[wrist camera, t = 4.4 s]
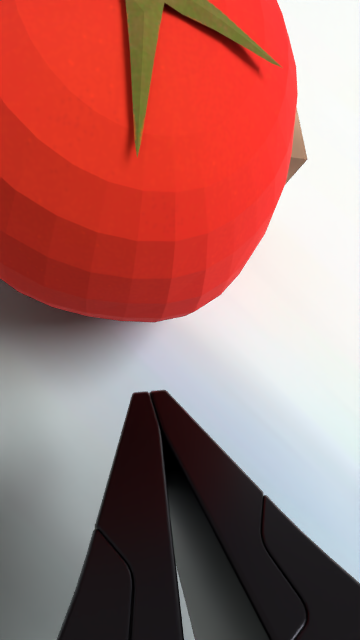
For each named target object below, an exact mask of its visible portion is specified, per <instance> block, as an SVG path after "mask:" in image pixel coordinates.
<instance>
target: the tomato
mask: <svg viewBox="0 0 360 640" xmlns="http://www.w3.org/2000/svg"><path fill="white" fill-rule="evenodd" d="M296 104H297V77H296V65H295V61H294V56H293V52H292V48H291V44H290V40H289V36H288V33H287V29H286V26H285V22H284V19H283V15H282V12H281V10H280V7H279V5H278V3H277V0H0V279H2V280H3V281H4V282H6V283H7V284H8V285H10V286H11V287H13V288H14V289H15V290H17V291H18V292H20V293H22V294H24V295H27V296H29V297H31V298H33V299H35V300H38V301H40V302H42V303H44V304H46V305H49V306H51V307H54V308H58V309H61V310H65V311H69V312H73V313H77V314H81V315H85V316H90V317H97V318H104V319H111V320H118V321H135V322H158V321H163V320H167V319H172V318H177V317H182V316H186V315H188V314H190V313H192V312H194V311H196V310H198V309H199V308H201V307H202V306H204V305H205V304H207V303H208V302H210V301H212V300H213V299H215V298H216V297H218V296H219V295H221V294H222V292H223V291H224V290H225V289H226V288H227V287H228V286H229V285H230V284H231V282H232V281H233V280H234V279H235V278H236V277H237V276H238V275H239V273H240V272H241V270H242V269H243V267H244V266H245V264H246V262H247V261H248V259H249V258H250V256H251V255H252V253H253V251H254V250H255V248H256V247H257V245H258V244H259V242H260V240H261V239H262V237H263V236H264V234H265V232H266V230H267V227H268V225H269V222H270V220H271V217H272V215H273V212H274V210H275V208H276V205H277V203H278V200H279V198H280V195H281V193H282V190H283V188H284V185H285V183H286V179H287V174H288V169H289V164H290V159H291V154H292V144H293V134H294V124H295V114H296Z"/></svg>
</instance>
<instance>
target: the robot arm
mask: <svg viewBox="0 0 360 640" xmlns="http://www.w3.org/2000/svg"><path fill="white" fill-rule="evenodd" d="M176 566H177V570H178V574H179V578H180V582H181V586H182V590H183V594H184V597H185V601H186V605H187V609H188V613H189V617H190V621H191V625H192V629H193V633H194V637H195V640H360V583H359V582H358V581H357V580H355V579H354V578H353V577H352V576H351V575H350V574H349V573H347V572H346V571H345V570H344V569H343V568H342V567H341V566H340V565H338V564H337V563H336V562H335V561H334V560H333V559H332V558H330V557H329V556H328V555H327V554H326V553H325V552H324V551H323V550H322V549H321V548H319V547H318V546H317V545H316V544H315V543H314V542H313V541H312V540H311V539H310V538H309V537H307V536H306V535H305V534H304V533H303V532H302V531H301V530H300V529H299V528H298V527H297V526H296V525H295V524H294V523H293V522H292V521H291V520H290V519H289V518H288V517H287V516H286V515H285V514H284V513H283V512H282V511H281V510H280V509H279V508H278V507H277V506H276V505H275V504H274V503H273V502H272V501H271V500H270V498H269V497H268V496H267V495H264V496H263V491H262V490H261V489H260V488H259V487H258V486H257V485H256V484H255V483H254V482H253V481H252V480H251V479H250V478H249V477H248V476H247V475H246V474H245V472H244V471H243V470H242V469H241V468H240V467H239V466H238V465H237V464H236V463H235V462H234V461H233V460H232V459H231V458H230V457H229V456H228V455H227V454H226V453H225V452H224V450H223V449H222V448H221V447H220V446H219V445H218V444H217V443H216V442H215V441H214V440H213V439H212V438H211V437H210V436H209V435H208V434H207V433H206V432H205V431H204V430H203V429H202V427H201V426H200V425H199V424H198V423H197V422H196V421H195V420H194V419H193V418H192V417H191V416H190V415H189V414H188V413H187V412H186V411H185V410H184V409H183V408H182V407H181V405H180V404H179V403H178V402H177V401H176V400H175V399H174V398H173V397H172V396H171V395H170V394H169V393H168V392H167V391H166V390H157V391H151V392H150V393H149V392H135V393H133V394H132V397H131V401H130V404H129V408H128V411H127V415H126V418H125V422H124V425H123V429H122V432H121V436H120V439H119V443H118V446H117V450H116V454H115V457H114V461H113V464H112V468H111V471H110V475H109V478H108V482H107V485H106V489H105V492H104V496H103V499H102V503H101V506H100V510H99V514H98V517H97V521H96V524H95V530H94V531H93V534H92V537H91V541H90V544H89V548H88V551H87V555H86V558H85V561H84V564H83V567H82V571H81V574H80V577H79V580H78V583H77V587H76V589H75V592H74V595H73V597H72V600H71V603H70V606H69V608H68V611H67V614H66V616H65V619H64V622H63V624H62V627H61V630H60V632H59V635H58V637H57V640H184V636H183V626H182V617H181V608H180V599H179V590H178V581H177V572H176Z"/></svg>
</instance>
